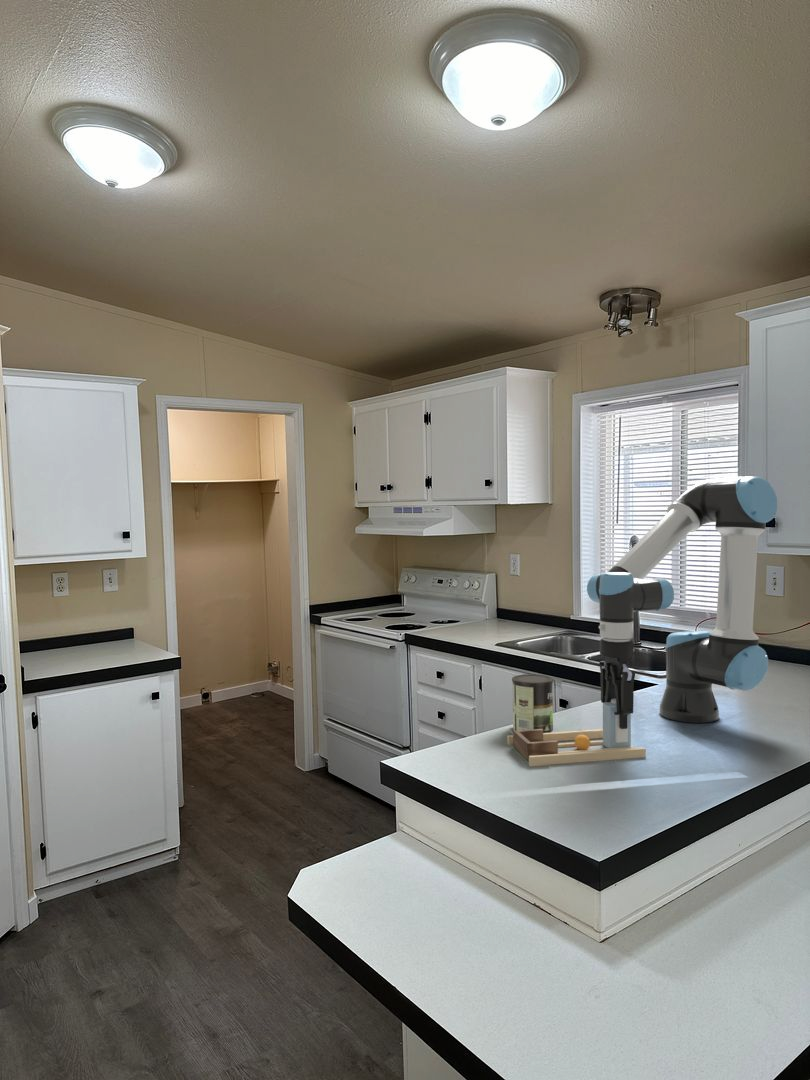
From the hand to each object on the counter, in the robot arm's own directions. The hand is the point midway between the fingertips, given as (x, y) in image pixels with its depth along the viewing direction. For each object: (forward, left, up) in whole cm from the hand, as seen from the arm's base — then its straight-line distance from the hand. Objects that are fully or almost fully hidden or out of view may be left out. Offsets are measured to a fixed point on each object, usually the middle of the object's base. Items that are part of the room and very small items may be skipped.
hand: (616, 738), depth 170 cm
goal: (+20, 0, -2) cm, 20 cm away
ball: (+8, 0, 0) cm, 9 cm away
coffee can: (+14, -18, -3) cm, 23 cm away
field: (+10, 0, -3) cm, 11 cm away
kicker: (0, 0, -2) cm, 2 cm away
